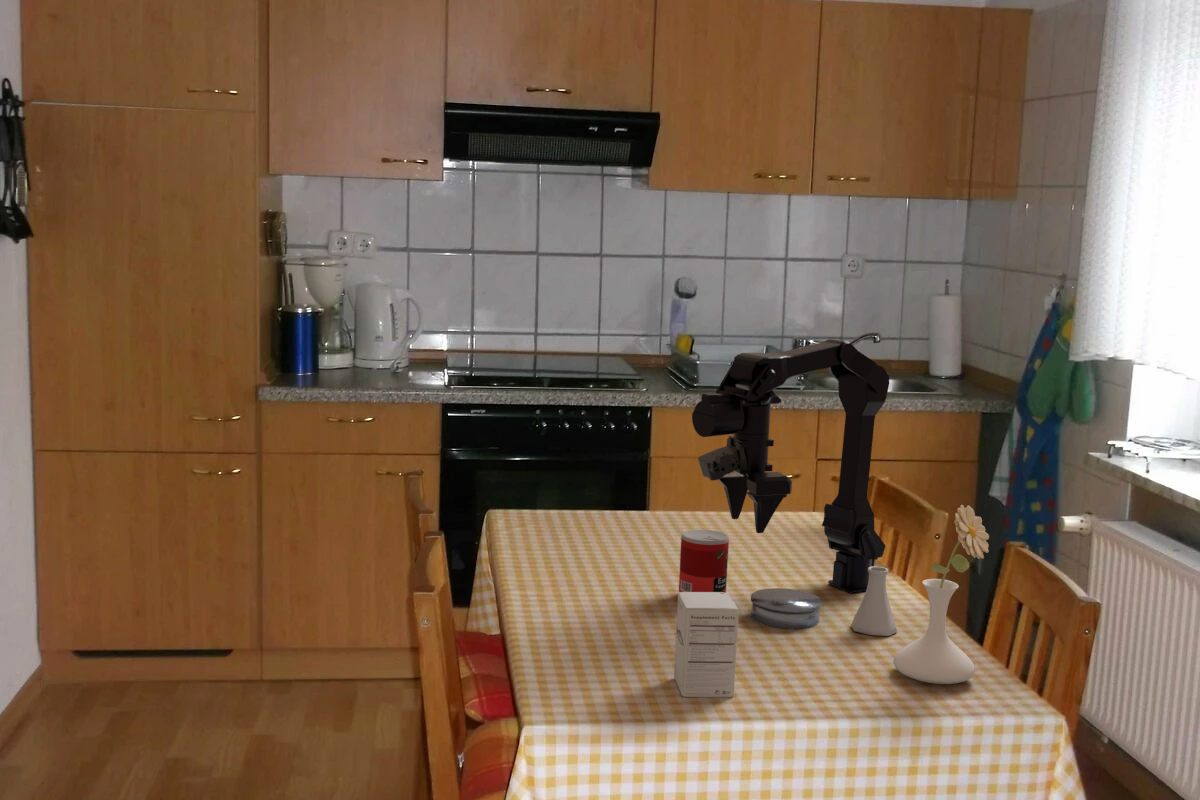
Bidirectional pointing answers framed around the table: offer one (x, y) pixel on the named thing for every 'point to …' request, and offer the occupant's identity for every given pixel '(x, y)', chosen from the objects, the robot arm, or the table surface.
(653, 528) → the table surface
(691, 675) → the supplement box
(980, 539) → the flower in vase
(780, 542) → the table surface
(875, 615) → the flask
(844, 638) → the table surface
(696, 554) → the canned food
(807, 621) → the biscuit tin
